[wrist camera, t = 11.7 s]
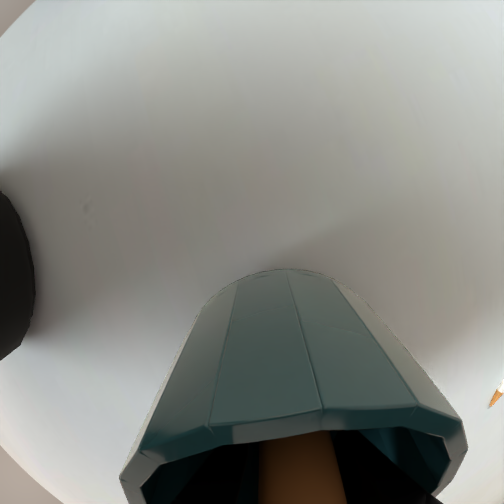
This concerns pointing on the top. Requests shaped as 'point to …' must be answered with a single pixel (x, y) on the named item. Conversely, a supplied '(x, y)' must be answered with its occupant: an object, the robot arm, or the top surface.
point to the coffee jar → (14, 279)
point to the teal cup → (290, 387)
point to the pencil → (497, 393)
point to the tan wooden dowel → (300, 471)
